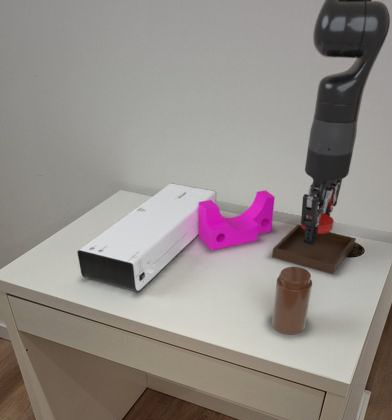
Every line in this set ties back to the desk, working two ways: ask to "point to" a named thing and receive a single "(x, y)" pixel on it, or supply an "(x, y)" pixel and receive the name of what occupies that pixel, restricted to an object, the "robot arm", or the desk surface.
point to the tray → (314, 250)
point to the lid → (324, 224)
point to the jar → (291, 300)
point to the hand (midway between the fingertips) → (315, 236)
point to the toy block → (235, 222)
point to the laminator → (145, 238)
